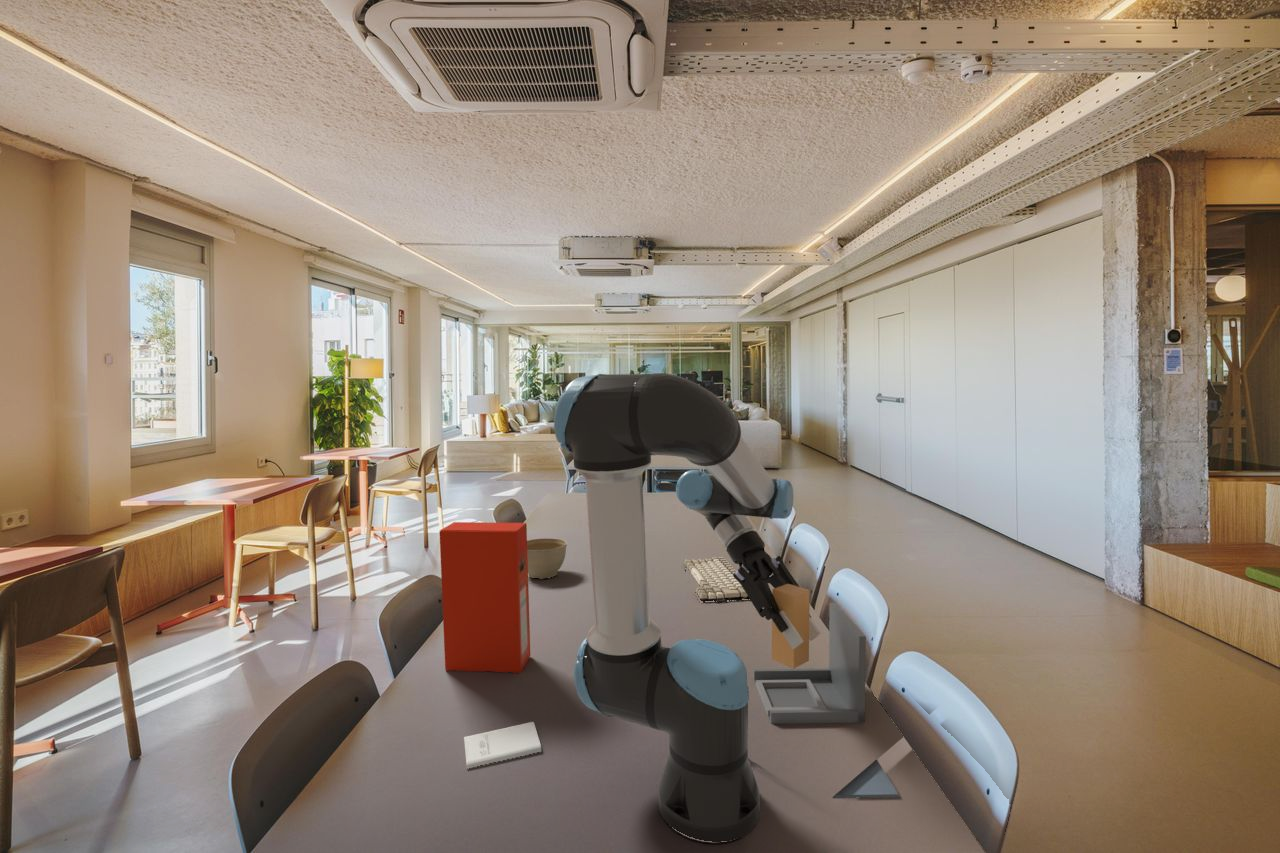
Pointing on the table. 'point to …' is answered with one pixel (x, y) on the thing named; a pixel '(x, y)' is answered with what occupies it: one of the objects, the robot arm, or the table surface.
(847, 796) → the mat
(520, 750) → the external hard drive
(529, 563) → the planter bowl
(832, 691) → the case
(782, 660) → the module
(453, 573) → the file binder
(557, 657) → the table surface
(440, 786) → the table surface
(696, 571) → the mechanical keyboard
